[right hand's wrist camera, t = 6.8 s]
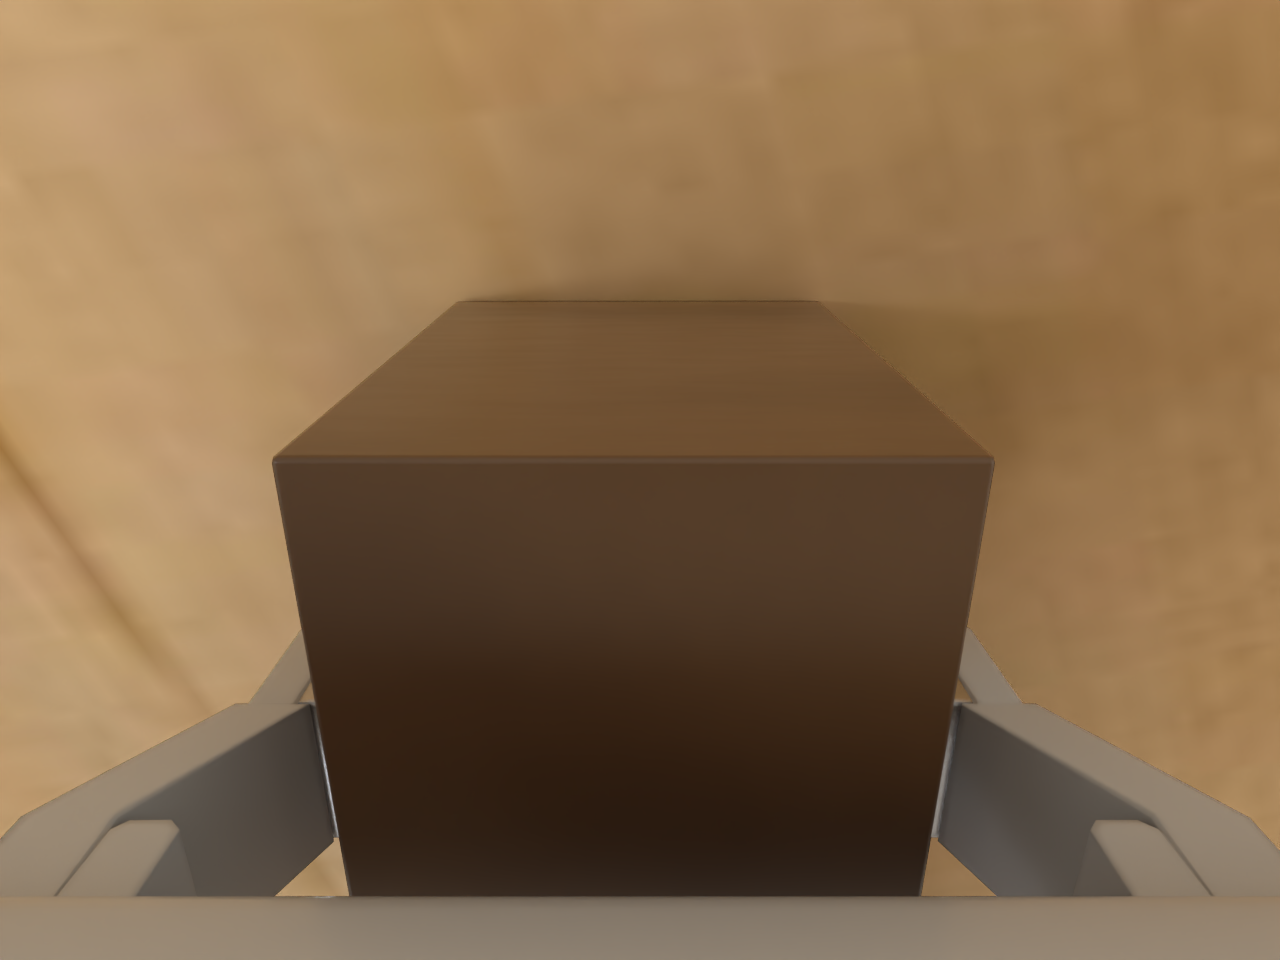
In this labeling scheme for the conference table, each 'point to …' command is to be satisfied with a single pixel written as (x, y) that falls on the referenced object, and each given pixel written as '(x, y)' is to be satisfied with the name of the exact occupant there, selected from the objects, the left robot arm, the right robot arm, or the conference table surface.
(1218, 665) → the conference table surface
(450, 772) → the post
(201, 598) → the conference table surface
